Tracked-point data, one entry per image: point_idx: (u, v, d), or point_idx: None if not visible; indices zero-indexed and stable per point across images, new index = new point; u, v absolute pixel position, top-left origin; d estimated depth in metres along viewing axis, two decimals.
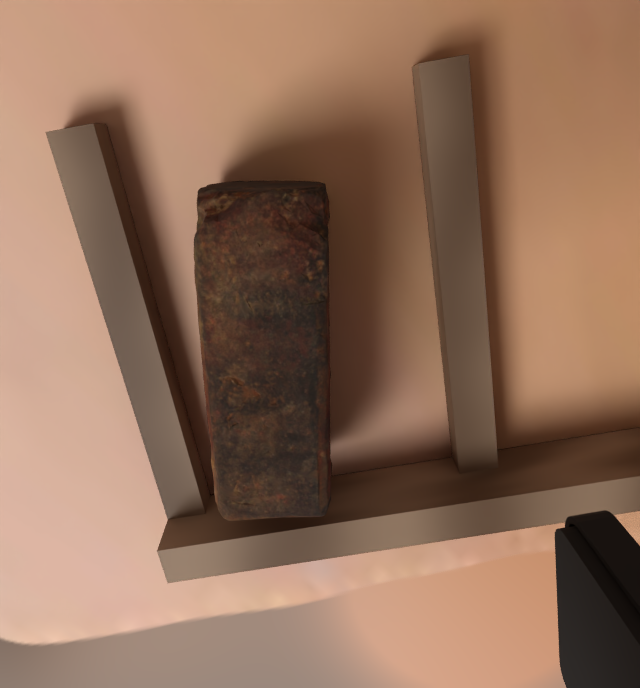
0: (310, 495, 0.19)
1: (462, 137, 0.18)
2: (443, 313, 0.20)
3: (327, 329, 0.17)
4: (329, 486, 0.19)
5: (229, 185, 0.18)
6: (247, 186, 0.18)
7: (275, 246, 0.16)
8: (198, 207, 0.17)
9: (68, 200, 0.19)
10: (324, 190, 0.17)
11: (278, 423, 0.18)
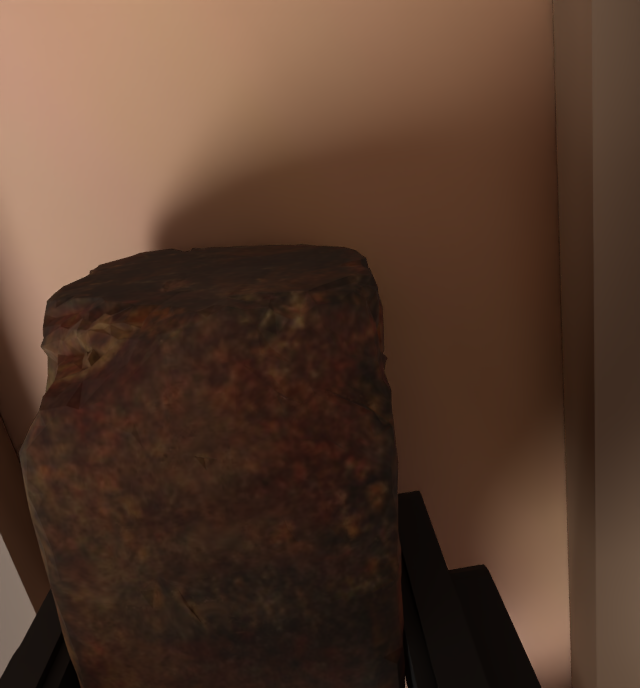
0: None
1: None
2: (594, 500, 0.10)
3: (400, 636, 0.07)
4: None
5: (137, 271, 0.08)
6: (175, 276, 0.07)
7: (248, 463, 0.06)
8: (45, 348, 0.06)
9: None
10: (372, 284, 0.06)
11: None
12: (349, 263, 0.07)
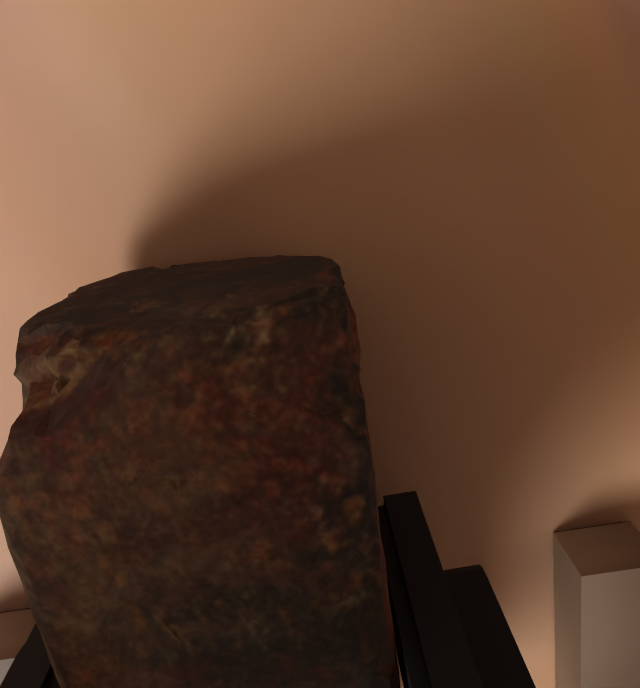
0: None
1: None
2: None
3: (391, 651, 0.07)
4: None
5: (112, 292, 0.08)
6: (148, 296, 0.07)
7: (219, 484, 0.06)
8: (18, 375, 0.06)
9: None
10: (341, 294, 0.06)
11: None
12: (321, 273, 0.07)
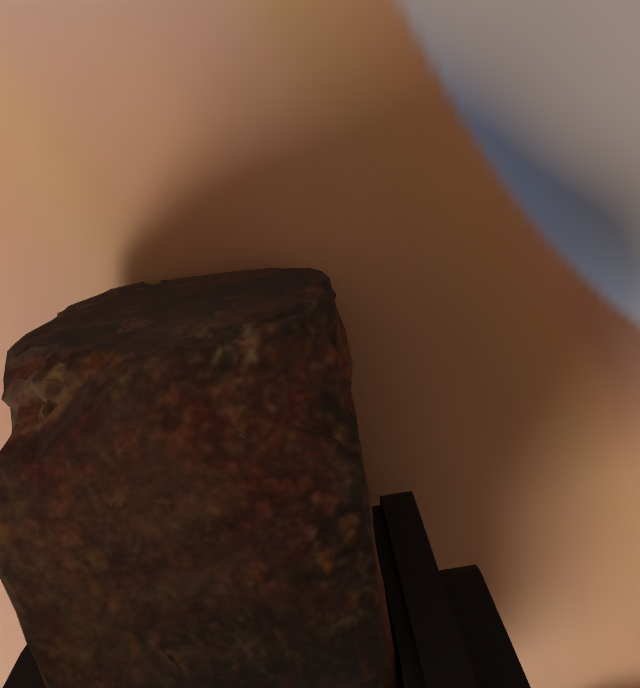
0: None
1: None
2: None
3: (391, 669, 0.06)
4: None
5: (101, 311, 0.08)
6: (136, 314, 0.07)
7: (211, 507, 0.05)
8: (6, 400, 0.06)
9: None
10: (329, 309, 0.06)
11: None
12: (310, 287, 0.07)
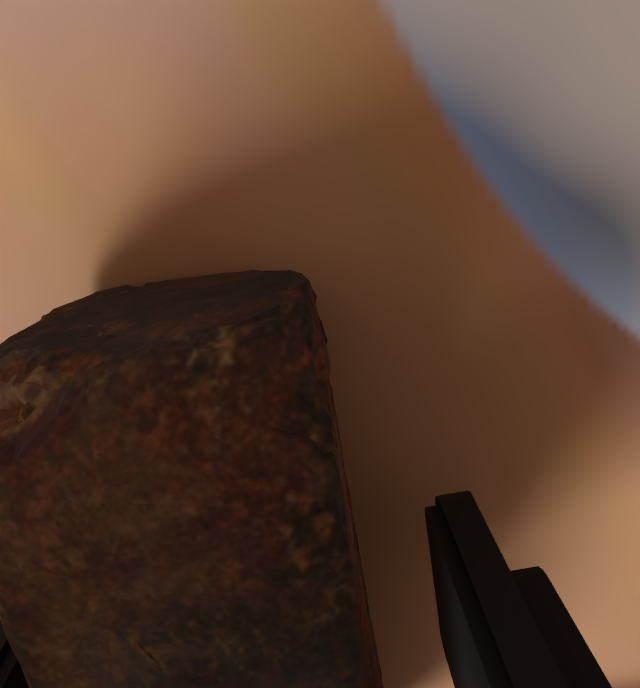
0: None
1: None
2: None
3: (369, 665, 0.07)
4: None
5: (84, 314, 0.08)
6: (117, 317, 0.07)
7: (186, 506, 0.06)
8: None
9: None
10: (305, 311, 0.06)
11: None
12: (288, 289, 0.07)
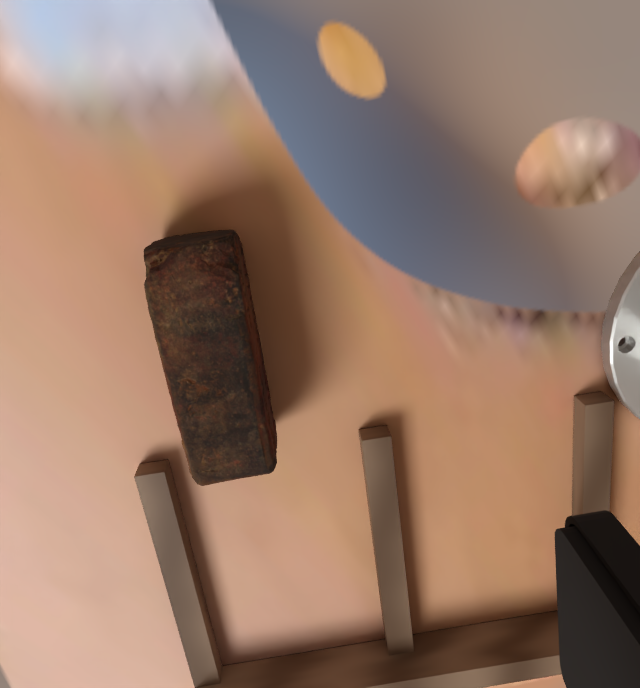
0: (258, 458, 0.26)
1: (388, 476, 0.30)
2: (377, 566, 0.32)
3: (249, 335, 0.24)
4: (271, 449, 0.26)
5: (167, 241, 0.25)
6: (179, 241, 0.24)
7: (201, 282, 0.23)
8: (145, 261, 0.24)
9: (144, 510, 0.30)
10: (232, 237, 0.24)
11: (225, 408, 0.25)
12: (229, 233, 0.24)
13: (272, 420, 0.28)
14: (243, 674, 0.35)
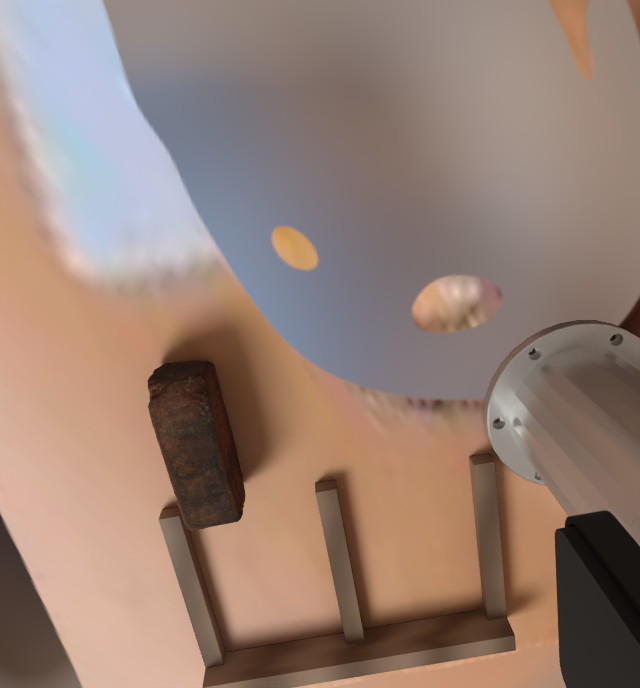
0: (228, 512, 0.38)
1: (336, 516, 0.43)
2: (333, 579, 0.45)
3: (217, 434, 0.37)
4: (237, 506, 0.39)
5: (163, 371, 0.38)
6: (170, 373, 0.37)
7: (184, 404, 0.36)
8: (148, 389, 0.37)
9: (166, 542, 0.43)
10: (203, 372, 0.36)
11: (204, 481, 0.37)
12: (202, 367, 0.37)
13: (240, 483, 0.41)
14: (240, 658, 0.47)
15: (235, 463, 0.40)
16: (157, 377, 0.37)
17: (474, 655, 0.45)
